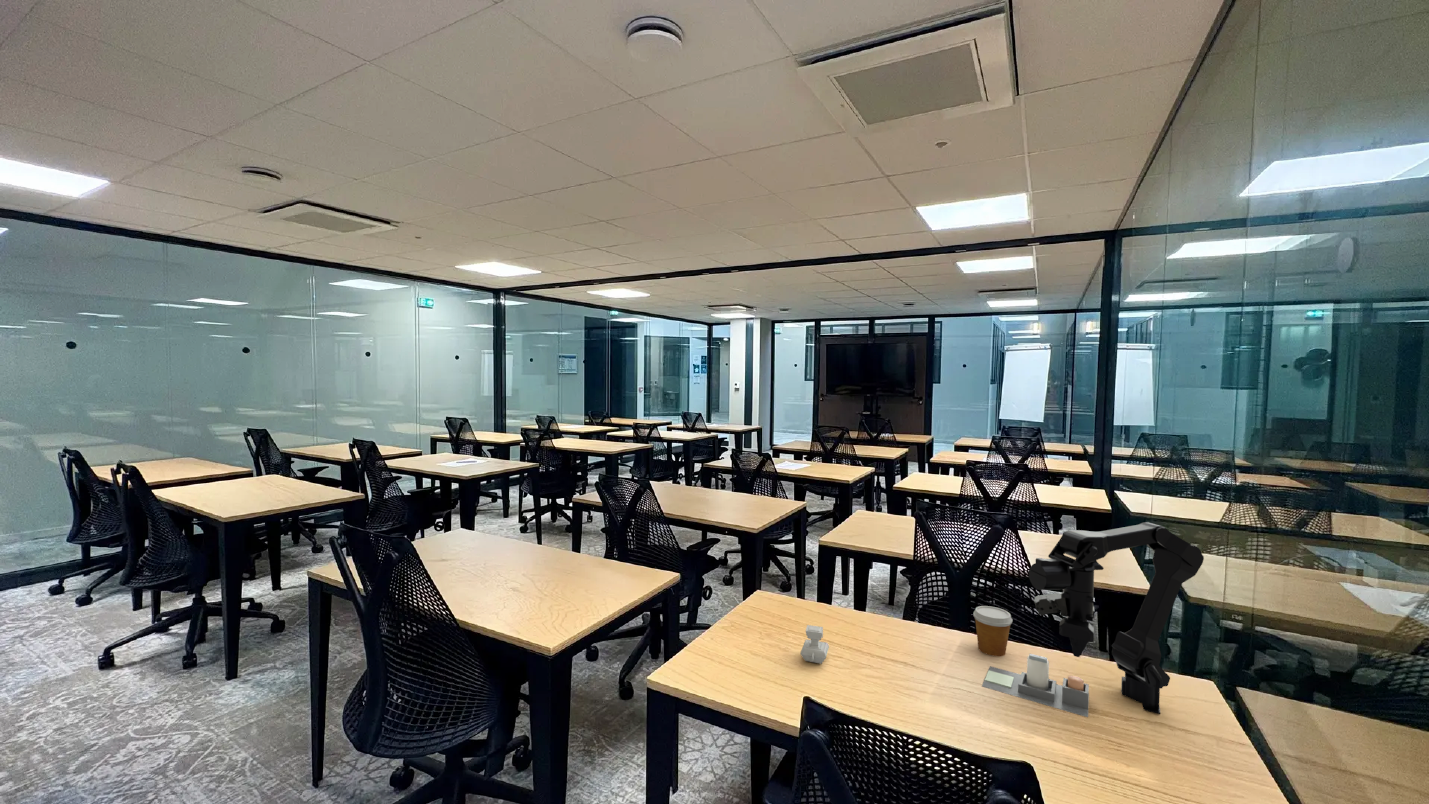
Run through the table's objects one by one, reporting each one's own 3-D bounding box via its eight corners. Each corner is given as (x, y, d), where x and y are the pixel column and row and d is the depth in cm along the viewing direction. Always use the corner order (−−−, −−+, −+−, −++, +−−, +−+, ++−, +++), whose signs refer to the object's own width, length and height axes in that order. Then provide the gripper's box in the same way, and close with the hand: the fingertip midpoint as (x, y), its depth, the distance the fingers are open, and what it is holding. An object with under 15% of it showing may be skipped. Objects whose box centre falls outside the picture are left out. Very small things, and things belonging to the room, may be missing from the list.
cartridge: (1048, 689, 130) (1049, 655, 130) (1047, 697, 127) (1048, 663, 126) (1027, 683, 133) (1028, 650, 133) (1025, 691, 129) (1026, 657, 129)
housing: (1088, 699, 129) (1089, 678, 129) (1087, 724, 119) (1088, 701, 119) (989, 671, 141) (990, 652, 141) (981, 692, 131) (982, 671, 131)
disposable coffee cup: (1008, 668, 143) (1009, 622, 143) (968, 657, 149) (969, 613, 149) (1014, 654, 151) (1015, 611, 150) (976, 644, 156) (977, 602, 156)
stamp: (825, 669, 141) (825, 637, 141) (799, 665, 143) (799, 633, 143) (829, 654, 149) (829, 623, 149) (804, 650, 151) (805, 619, 151)
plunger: (1083, 692, 126) (1083, 678, 126) (1083, 698, 123) (1083, 684, 123) (1067, 688, 127) (1068, 674, 127) (1067, 693, 125) (1067, 679, 125)
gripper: (1040, 570, 137) (1039, 632, 137) (1033, 592, 122) (1031, 662, 122) (1095, 579, 131) (1093, 644, 131) (1094, 604, 115) (1092, 677, 116)
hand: (1076, 656), depth 125 cm, fingers closed
